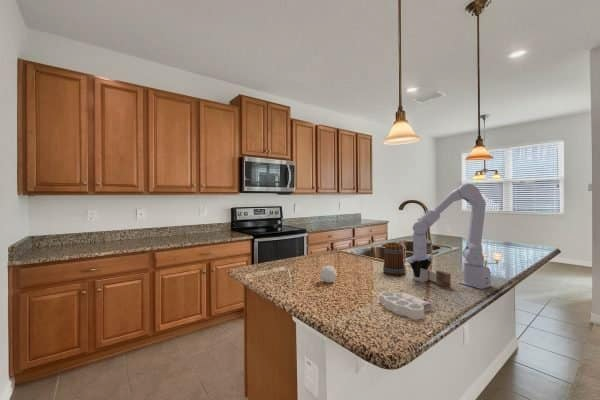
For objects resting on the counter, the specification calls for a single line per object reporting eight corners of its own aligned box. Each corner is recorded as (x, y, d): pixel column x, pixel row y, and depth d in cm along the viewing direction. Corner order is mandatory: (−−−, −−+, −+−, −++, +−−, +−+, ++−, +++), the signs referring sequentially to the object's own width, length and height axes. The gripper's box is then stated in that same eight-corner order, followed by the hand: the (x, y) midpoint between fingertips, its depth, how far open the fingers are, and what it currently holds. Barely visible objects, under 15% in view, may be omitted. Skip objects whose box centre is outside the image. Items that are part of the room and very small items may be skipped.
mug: (401, 277, 131) (401, 246, 131) (380, 274, 137) (379, 244, 137) (410, 269, 143) (409, 241, 143) (390, 267, 150) (389, 240, 150)
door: (441, 282, 120) (441, 273, 120) (438, 283, 119) (437, 274, 119) (423, 275, 131) (423, 267, 131) (420, 275, 131) (419, 267, 131)
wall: (451, 287, 114) (451, 273, 114) (448, 288, 113) (448, 274, 113) (438, 284, 119) (438, 270, 119) (435, 284, 118) (435, 271, 118)
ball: (329, 289, 124) (326, 278, 119) (318, 279, 129) (315, 269, 125) (341, 279, 127) (338, 268, 122) (329, 270, 132) (327, 259, 128)
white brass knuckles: (440, 314, 90) (408, 323, 84) (399, 296, 106) (370, 303, 100) (440, 304, 90) (408, 313, 84) (399, 288, 106) (370, 294, 100)
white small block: (428, 280, 124) (427, 269, 124) (422, 282, 122) (422, 271, 122) (418, 278, 129) (418, 267, 129) (412, 279, 127) (412, 268, 127)
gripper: (422, 244, 132) (423, 272, 133) (402, 247, 126) (402, 276, 126) (435, 246, 126) (436, 275, 126) (414, 249, 119) (415, 280, 120)
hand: (420, 276), depth 126 cm, fingers closed on white small block, 4 cm apart
